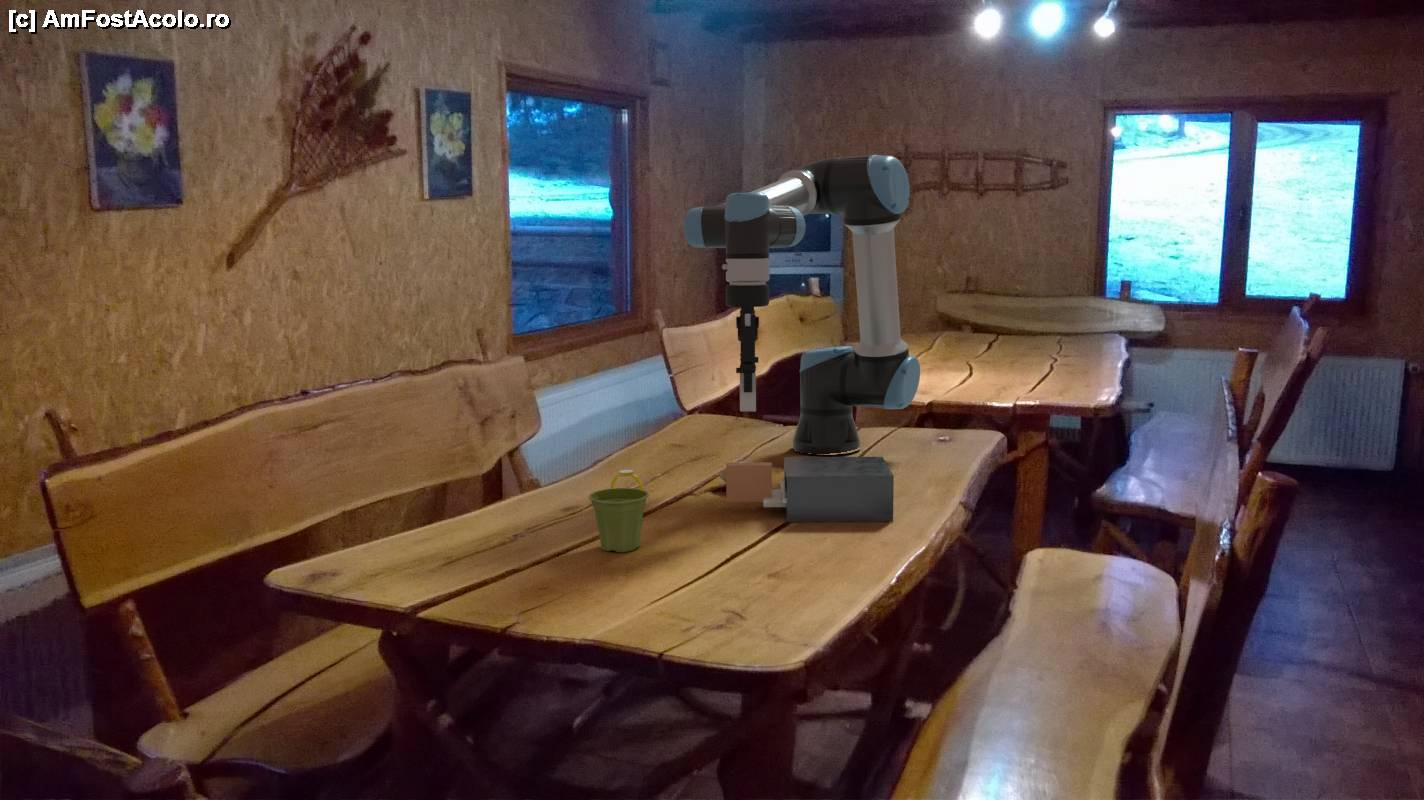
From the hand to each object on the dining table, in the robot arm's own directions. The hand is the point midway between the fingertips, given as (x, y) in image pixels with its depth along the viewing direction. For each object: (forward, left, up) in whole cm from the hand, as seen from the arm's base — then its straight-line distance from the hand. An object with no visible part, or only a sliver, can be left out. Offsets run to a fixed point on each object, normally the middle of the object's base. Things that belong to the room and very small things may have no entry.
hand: (747, 405), depth 198 cm
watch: (-7, -22, -19) cm, 30 cm away
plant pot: (+23, -20, -19) cm, 36 cm away
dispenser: (0, +16, -19) cm, 25 cm away
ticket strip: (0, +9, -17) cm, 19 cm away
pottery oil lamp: (-19, 0, -19) cm, 27 cm away
